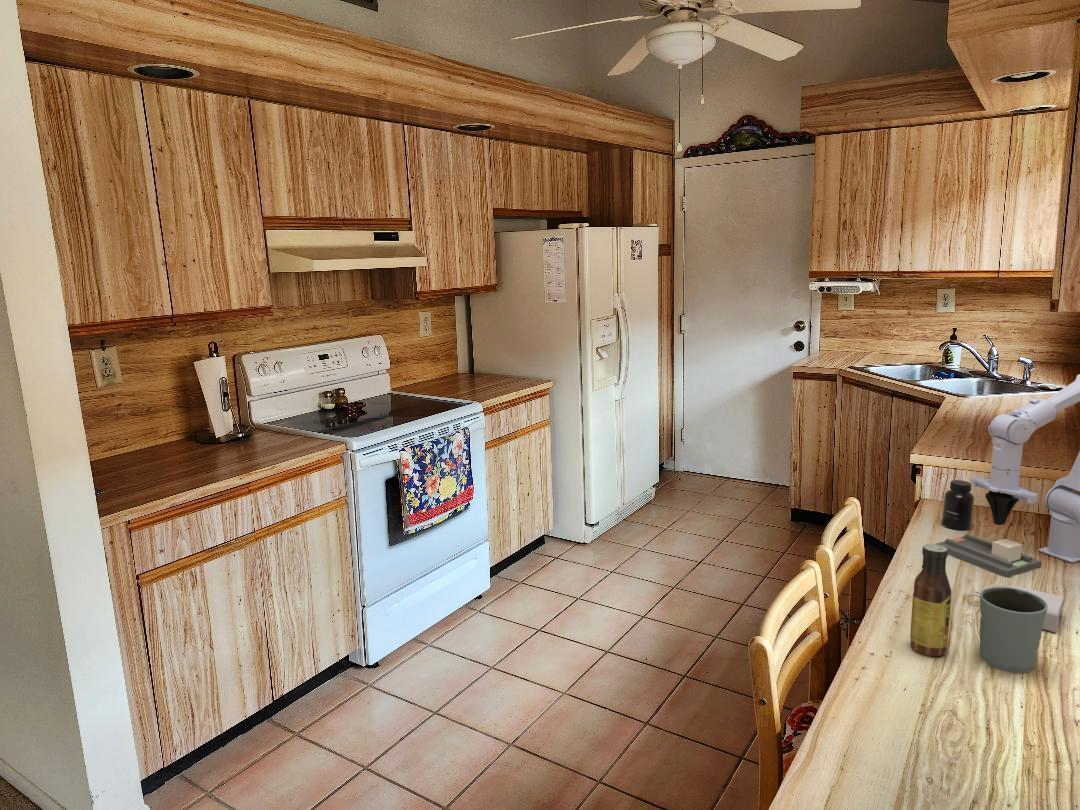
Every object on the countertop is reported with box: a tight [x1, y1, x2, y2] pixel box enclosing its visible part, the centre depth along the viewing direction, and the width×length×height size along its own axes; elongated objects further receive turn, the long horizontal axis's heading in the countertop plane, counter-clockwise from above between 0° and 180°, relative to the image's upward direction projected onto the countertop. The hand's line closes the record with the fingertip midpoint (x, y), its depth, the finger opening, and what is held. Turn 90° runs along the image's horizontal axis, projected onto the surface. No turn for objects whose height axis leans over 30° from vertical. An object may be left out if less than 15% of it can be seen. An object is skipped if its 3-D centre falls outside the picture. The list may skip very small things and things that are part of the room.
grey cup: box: [978, 586, 1048, 674], centre depth 134 cm, size 10×10×12 cm
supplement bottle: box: [941, 479, 975, 531], centre depth 197 cm, size 7×7×12 cm
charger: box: [972, 584, 1065, 634], centre depth 152 cm, size 5×9×15 cm
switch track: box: [935, 533, 1043, 578], centre depth 178 cm, size 12×18×2 cm, turn 24°
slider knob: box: [991, 538, 1023, 562], centre depth 174 cm, size 4×4×4 cm
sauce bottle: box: [909, 543, 952, 657], centre depth 138 cm, size 7×6×20 cm
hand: (999, 523), depth 175 cm, fingers closed
